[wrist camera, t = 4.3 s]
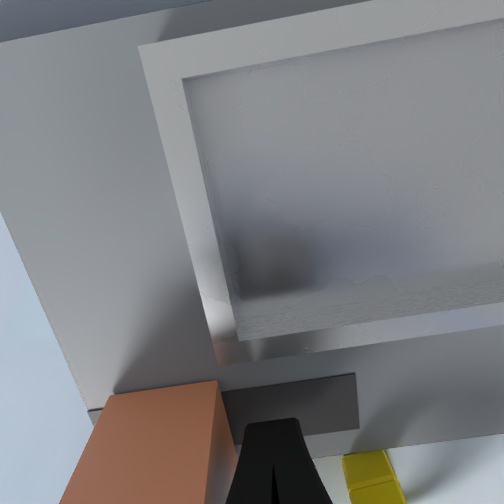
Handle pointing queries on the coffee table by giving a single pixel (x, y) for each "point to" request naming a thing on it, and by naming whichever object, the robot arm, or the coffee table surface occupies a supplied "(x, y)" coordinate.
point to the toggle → (158, 450)
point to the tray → (339, 173)
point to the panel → (188, 255)
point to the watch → (371, 478)
